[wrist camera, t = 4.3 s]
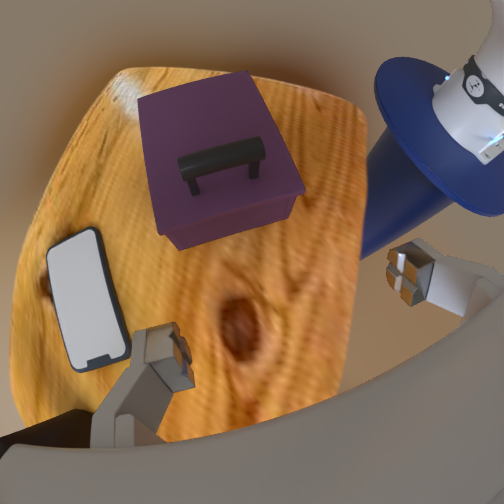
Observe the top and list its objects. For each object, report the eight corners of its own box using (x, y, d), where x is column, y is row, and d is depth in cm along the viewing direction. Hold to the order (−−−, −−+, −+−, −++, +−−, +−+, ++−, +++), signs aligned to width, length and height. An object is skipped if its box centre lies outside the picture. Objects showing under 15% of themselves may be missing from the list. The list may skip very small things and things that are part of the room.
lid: (304, 194, 23) (319, 159, 18) (160, 236, 22) (137, 210, 17) (247, 74, 27) (248, 37, 22) (139, 103, 26) (124, 68, 21)
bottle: (63, 438, 23) (-39, 485, 4) (69, 398, 25) (-52, 433, 6) (106, 464, 23) (15, 540, 4) (114, 425, 25) (2, 496, 5)
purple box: (288, 218, 31) (300, 186, 24) (179, 250, 30) (158, 227, 22) (246, 117, 35) (247, 75, 27) (155, 142, 34) (139, 103, 26)
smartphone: (50, 253, 30) (79, 374, 26) (43, 249, 28) (72, 375, 24) (102, 226, 31) (138, 355, 27) (96, 221, 29) (133, 356, 25)
